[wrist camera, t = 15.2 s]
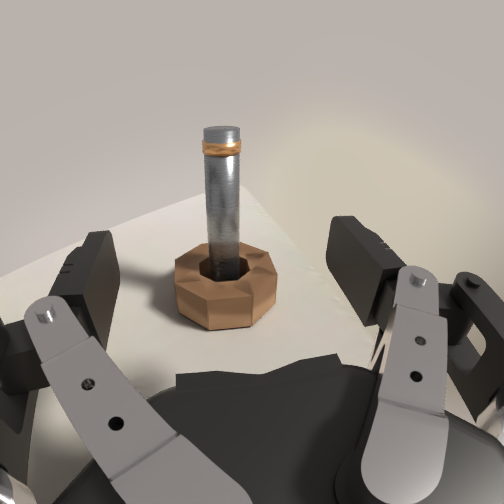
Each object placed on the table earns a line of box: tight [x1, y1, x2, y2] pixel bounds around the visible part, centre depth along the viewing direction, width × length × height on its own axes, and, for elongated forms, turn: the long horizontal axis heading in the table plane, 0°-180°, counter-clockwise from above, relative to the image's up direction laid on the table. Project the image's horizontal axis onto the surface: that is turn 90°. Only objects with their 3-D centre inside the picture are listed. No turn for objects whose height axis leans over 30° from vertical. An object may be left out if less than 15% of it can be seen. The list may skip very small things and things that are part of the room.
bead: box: [174, 242, 278, 330], centre depth 27 cm, size 8×8×3 cm
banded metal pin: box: [202, 126, 241, 282], centre depth 24 cm, size 3×3×14 cm
